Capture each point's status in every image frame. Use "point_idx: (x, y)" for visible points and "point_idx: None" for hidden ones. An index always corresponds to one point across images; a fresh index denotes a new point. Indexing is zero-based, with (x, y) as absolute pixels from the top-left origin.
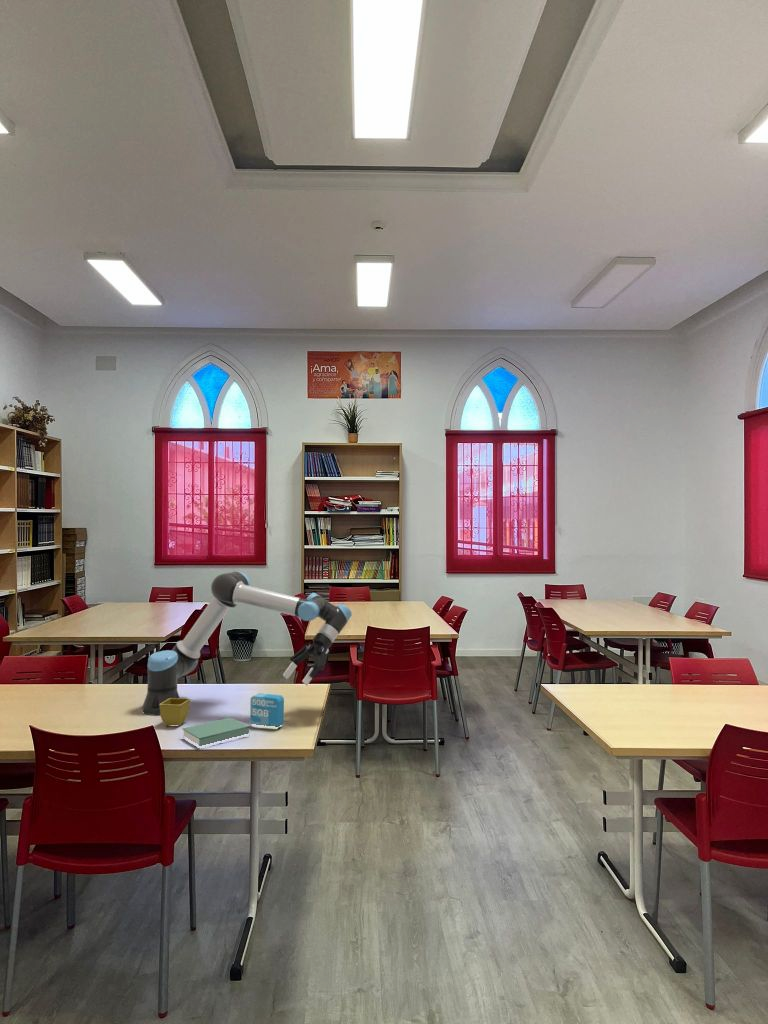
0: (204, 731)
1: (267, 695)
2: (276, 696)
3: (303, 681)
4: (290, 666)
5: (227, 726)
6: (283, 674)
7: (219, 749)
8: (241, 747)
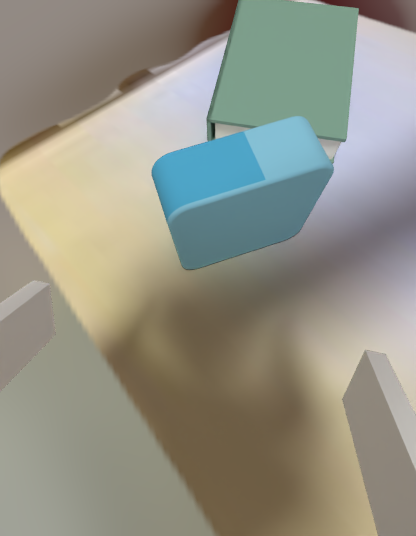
0: (281, 26)
1: (243, 160)
2: (184, 174)
3: (30, 285)
4: (410, 470)
5: (265, 82)
6: (379, 358)
7: (196, 51)
8: (158, 86)
